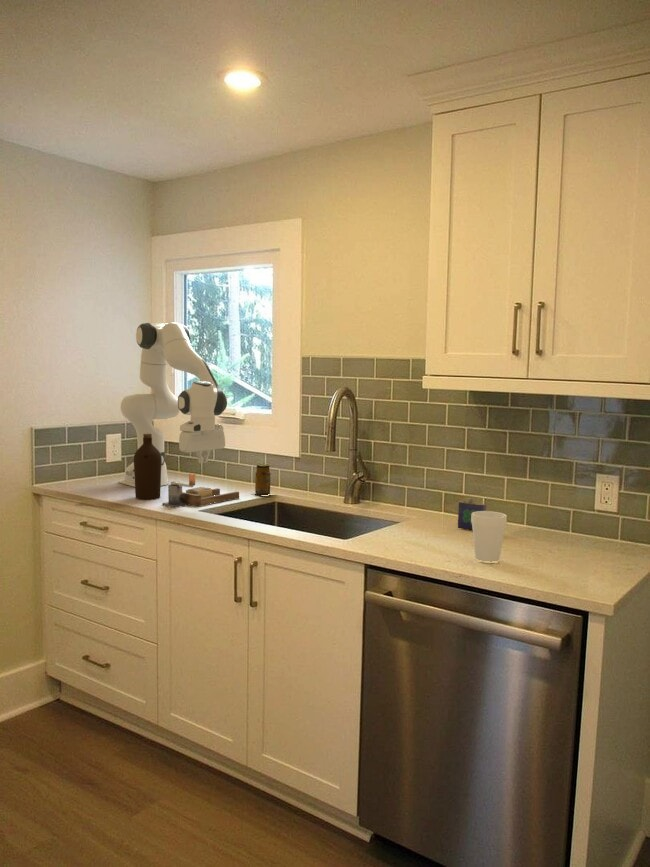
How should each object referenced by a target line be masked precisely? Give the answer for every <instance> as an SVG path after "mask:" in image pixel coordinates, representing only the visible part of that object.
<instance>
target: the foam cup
mask: <svg viewBox="0 0 650 867" xmlns="http://www.w3.org/2000/svg"><path fill="white" fill-rule="evenodd" d="M507 519H508V515H507V514H505V513H503V512H500V511H498V512H497V511H491V510H486V511H476V512H473V513H472V514H471V522H472V529H473V531H472V538H473V547H474V548H473V549H474V558H475V560H476V559H478V560H482V561H490V562H492V561H498V560H499V561H500V559H501V558H500V557H501V554H502V547H503V543H504V542H503V541H504V534H505V530H506V525H507Z"/></svg>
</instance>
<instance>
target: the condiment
mask: <svg viewBox="0 0 650 867" xmlns="http://www.w3.org/2000/svg"><path fill="white" fill-rule="evenodd" d="M270 467H271V466H270V465H269V464H264V463H263V464H257V465H256V472H255V477H254V478H255V484H254V486H255V487H254V491H255V492H252V493H250V494H251V495H253V496H258V495H268V494H271V474H272V473H271V472H270ZM255 494H256V495H255Z"/></svg>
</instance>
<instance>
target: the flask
mask: <svg viewBox="0 0 650 867" xmlns="http://www.w3.org/2000/svg"><path fill="white" fill-rule="evenodd" d="M469 499H470V500H466V499H465V500H459V502H458V511H457V514H458V515H457V516H458V517H457V529H458V528H463V529H469V530H468V531H471V530H473V529H472V522H471V514H472V513H473V512H476V511H487V510H486V509H487V504H485V503H479V502H478V503H477V502H475V499H476V498H475V497H469ZM463 529H462V530H463Z"/></svg>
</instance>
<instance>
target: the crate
mask: <svg viewBox="0 0 650 867" xmlns="http://www.w3.org/2000/svg"><path fill="white" fill-rule="evenodd" d="M212 489H213V488H211V487H204V486H198V487H191V488H188V489H185V493H191V494H196V495H201V498H205V497H210V496H212Z"/></svg>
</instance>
